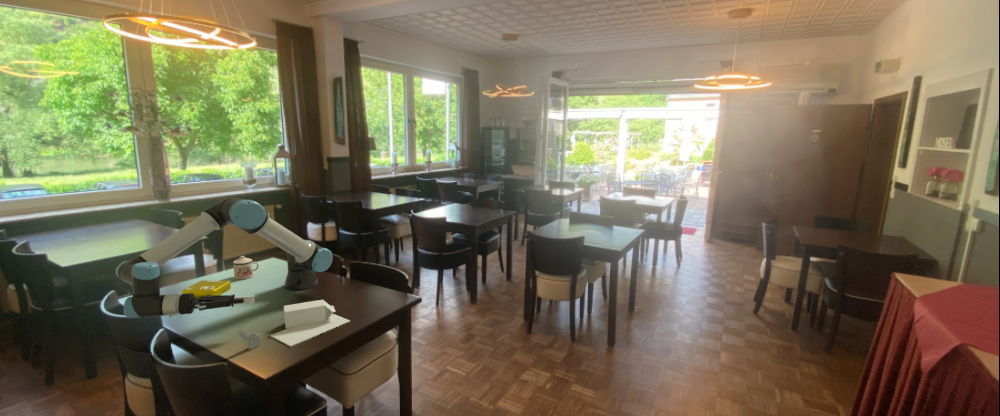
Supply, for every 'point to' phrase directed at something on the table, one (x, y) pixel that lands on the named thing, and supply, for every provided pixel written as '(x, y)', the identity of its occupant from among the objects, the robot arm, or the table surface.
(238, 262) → the teacup with lid
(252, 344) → the lighter
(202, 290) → the element tile
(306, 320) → the milk carton
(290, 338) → the mat
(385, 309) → the table surface
